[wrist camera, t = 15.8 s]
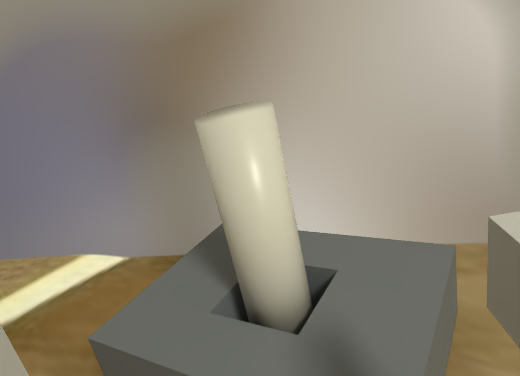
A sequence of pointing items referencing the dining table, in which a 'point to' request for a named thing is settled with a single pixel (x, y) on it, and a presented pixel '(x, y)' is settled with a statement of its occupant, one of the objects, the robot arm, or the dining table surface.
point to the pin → (257, 213)
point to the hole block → (315, 329)
